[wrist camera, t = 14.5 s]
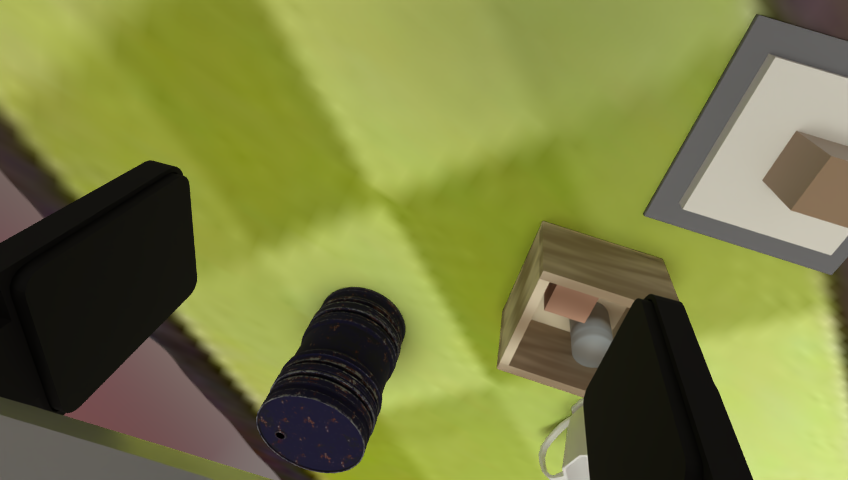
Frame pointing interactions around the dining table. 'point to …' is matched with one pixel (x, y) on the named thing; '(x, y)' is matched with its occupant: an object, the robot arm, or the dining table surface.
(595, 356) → the crate
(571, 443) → the cup
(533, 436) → the dining table surface
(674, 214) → the mat
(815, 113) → the lid
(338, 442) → the storage jar
